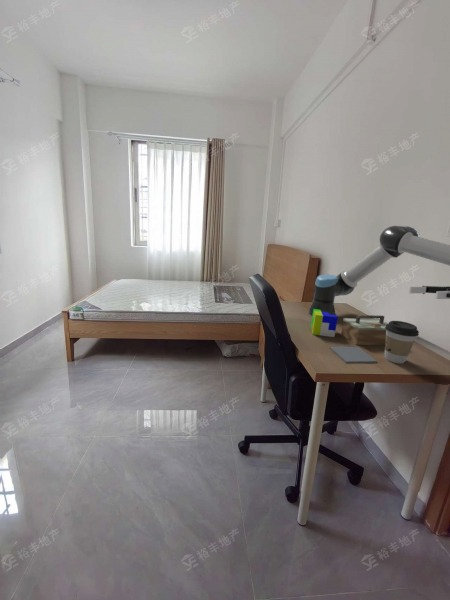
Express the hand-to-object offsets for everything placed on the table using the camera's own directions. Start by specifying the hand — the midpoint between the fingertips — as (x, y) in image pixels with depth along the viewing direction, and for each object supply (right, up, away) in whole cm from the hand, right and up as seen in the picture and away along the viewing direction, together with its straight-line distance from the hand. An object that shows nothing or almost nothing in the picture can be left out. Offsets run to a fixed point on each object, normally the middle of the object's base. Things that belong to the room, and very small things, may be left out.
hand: (422, 292), depth 107 cm
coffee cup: (-8, -27, +4) cm, 29 cm away
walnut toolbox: (-10, -21, +24) cm, 34 cm away
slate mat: (-25, -26, +6) cm, 36 cm away
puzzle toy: (-29, -19, +30) cm, 45 cm away
